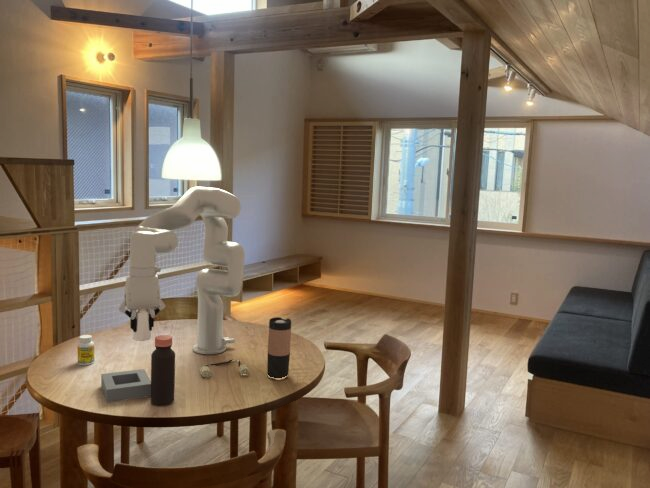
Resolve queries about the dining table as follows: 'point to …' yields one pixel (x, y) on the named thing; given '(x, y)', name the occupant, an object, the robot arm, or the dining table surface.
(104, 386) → the frame
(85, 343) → the supplement bottle
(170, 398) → the dark brown water bottle
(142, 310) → the pepper shaker
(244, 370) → the cable
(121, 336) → the dining table surface
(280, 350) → the travel mug
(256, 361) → the dining table surface
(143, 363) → the dining table surface
